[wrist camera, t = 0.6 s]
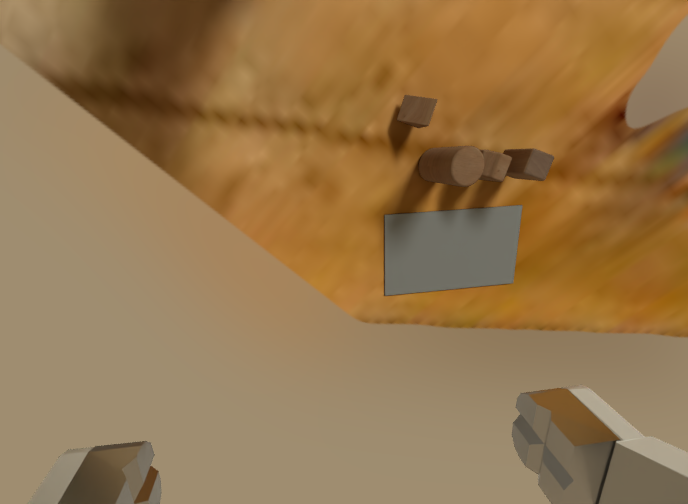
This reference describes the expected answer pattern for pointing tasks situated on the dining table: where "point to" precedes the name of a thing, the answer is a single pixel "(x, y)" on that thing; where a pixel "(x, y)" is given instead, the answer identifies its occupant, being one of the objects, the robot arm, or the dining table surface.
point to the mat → (450, 249)
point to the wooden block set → (470, 155)
